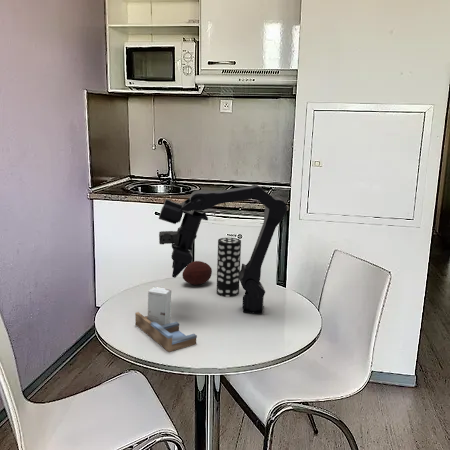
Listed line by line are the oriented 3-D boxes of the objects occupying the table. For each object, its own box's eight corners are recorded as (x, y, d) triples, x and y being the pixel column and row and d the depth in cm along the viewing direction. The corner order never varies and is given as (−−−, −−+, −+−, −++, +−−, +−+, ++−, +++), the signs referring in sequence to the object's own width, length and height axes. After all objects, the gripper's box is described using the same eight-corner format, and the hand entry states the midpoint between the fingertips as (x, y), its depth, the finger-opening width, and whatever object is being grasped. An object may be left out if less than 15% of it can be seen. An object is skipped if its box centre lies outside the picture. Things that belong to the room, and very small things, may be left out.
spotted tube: (239, 297, 177) (241, 244, 173) (216, 296, 177) (217, 243, 173) (238, 289, 185) (240, 238, 181) (216, 288, 186) (218, 237, 181)
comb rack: (134, 324, 152) (134, 310, 151) (161, 318, 157) (161, 304, 156) (168, 352, 136) (168, 336, 135) (196, 343, 141) (197, 328, 140)
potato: (215, 286, 188) (216, 262, 186) (186, 290, 183) (187, 266, 181) (206, 278, 196) (206, 256, 193) (178, 282, 190) (178, 259, 188)
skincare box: (146, 328, 150) (146, 291, 147) (153, 322, 154) (153, 286, 151) (165, 331, 148) (165, 293, 146) (171, 325, 152) (171, 288, 150)
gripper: (165, 214, 165) (151, 257, 168) (164, 227, 147) (148, 274, 150) (196, 224, 167) (182, 266, 170) (199, 238, 149) (183, 285, 152)
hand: (173, 272), depth 160 cm, fingers open, 9 cm apart
